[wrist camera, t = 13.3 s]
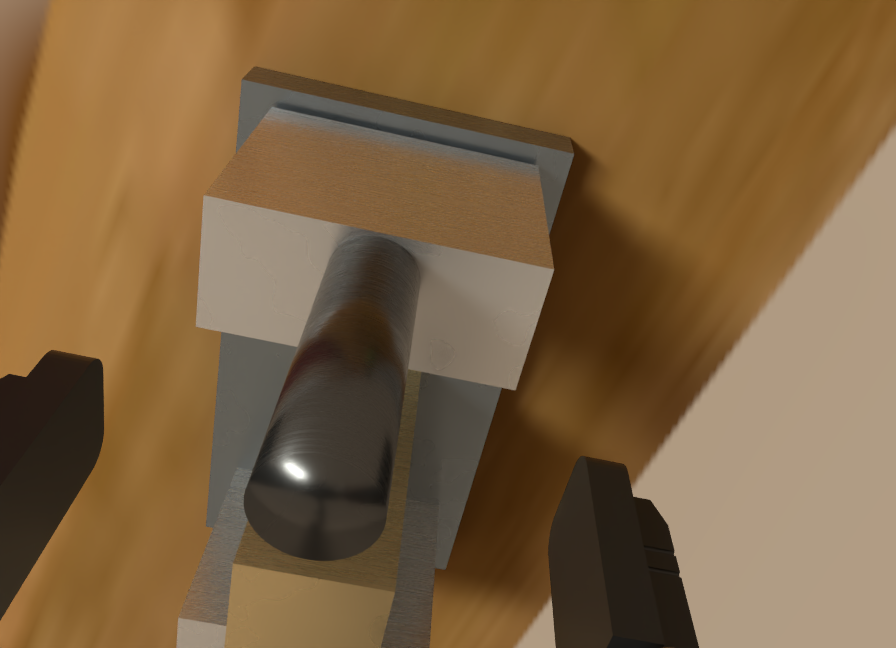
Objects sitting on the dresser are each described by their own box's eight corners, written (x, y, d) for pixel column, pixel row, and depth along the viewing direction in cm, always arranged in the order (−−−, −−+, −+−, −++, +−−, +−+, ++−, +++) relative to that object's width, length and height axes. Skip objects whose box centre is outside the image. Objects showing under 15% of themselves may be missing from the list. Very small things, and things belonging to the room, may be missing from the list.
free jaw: (508, 267, 26) (529, 648, 14) (261, 214, 25) (56, 565, 13) (538, 165, 24) (590, 502, 12) (271, 106, 24) (46, 398, 11)
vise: (446, 542, 35) (436, 728, 28) (216, 500, 34) (144, 679, 27) (569, 137, 26) (603, 259, 18) (254, 66, 25) (158, 164, 18)
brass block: (422, 363, 28) (395, 591, 20) (393, 487, 32) (358, 731, 23) (309, 341, 28) (232, 563, 20) (290, 468, 31) (218, 708, 23)
